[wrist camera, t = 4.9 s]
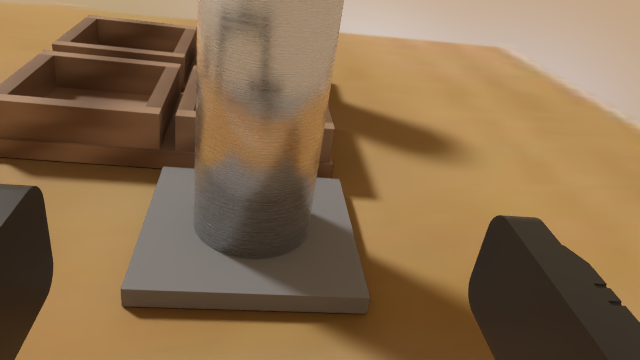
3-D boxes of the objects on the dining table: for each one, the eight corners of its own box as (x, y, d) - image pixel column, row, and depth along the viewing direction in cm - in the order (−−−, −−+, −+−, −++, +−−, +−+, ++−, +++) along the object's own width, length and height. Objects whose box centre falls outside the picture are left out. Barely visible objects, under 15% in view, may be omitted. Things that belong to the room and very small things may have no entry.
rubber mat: (122, 306, 18) (120, 289, 18) (163, 180, 26) (163, 166, 26) (366, 313, 20) (370, 298, 19) (337, 191, 28) (339, 179, 27)
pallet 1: (53, 89, 34) (47, 44, 33) (90, 52, 42) (87, 14, 40) (315, 113, 37) (321, 72, 35) (306, 74, 44) (310, 39, 43)
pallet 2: (-14, 155, 26) (-26, 99, 24) (47, 94, 33) (41, 48, 32) (330, 180, 29) (339, 131, 27) (316, 118, 36) (322, 77, 34)
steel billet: (226, 273, 20) (247, -78, 14) (175, 206, 23) (174, -98, 17) (331, 239, 22) (385, -64, 16) (271, 184, 26) (299, -83, 20)
